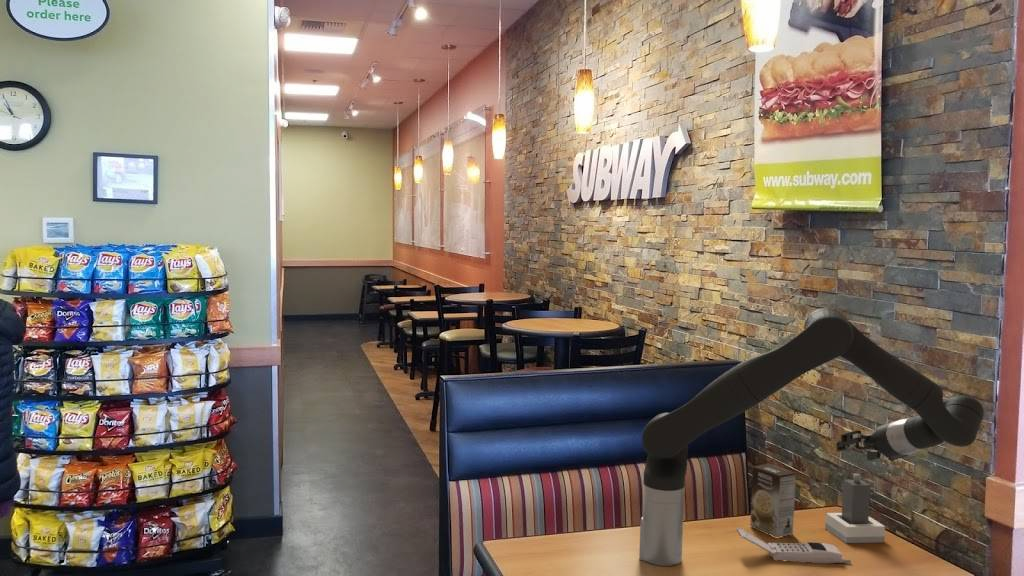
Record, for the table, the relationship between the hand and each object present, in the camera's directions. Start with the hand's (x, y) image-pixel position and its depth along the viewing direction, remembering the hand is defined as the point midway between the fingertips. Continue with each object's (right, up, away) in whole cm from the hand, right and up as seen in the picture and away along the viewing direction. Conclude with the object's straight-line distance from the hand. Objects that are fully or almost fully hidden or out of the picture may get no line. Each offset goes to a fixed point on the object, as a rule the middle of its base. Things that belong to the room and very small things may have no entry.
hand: (852, 451), depth 191 cm
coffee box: (-16, -23, +10) cm, 30 cm away
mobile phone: (-17, -24, -6) cm, 30 cm away
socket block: (+4, -23, +9) cm, 25 cm away
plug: (+4, -21, +9) cm, 24 cm away
